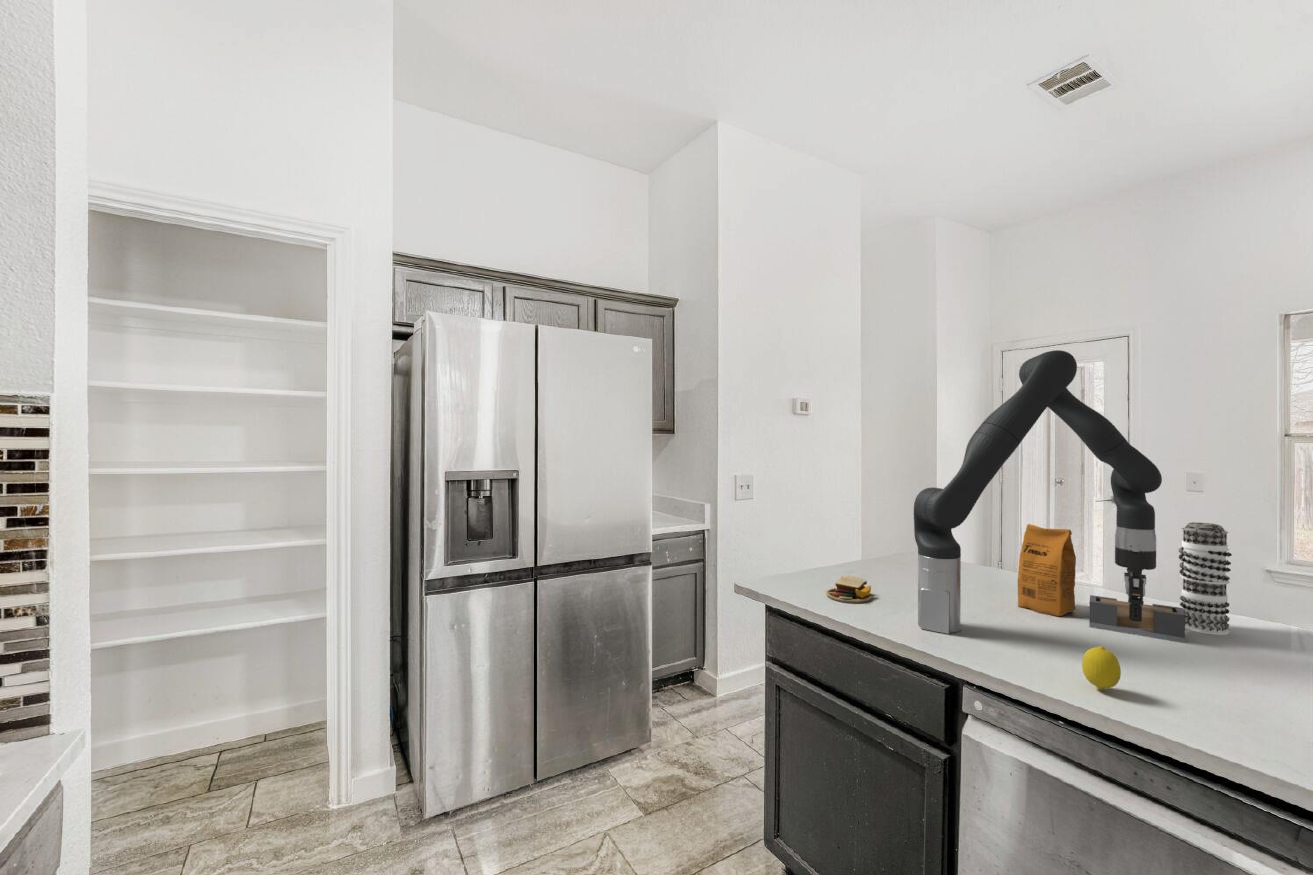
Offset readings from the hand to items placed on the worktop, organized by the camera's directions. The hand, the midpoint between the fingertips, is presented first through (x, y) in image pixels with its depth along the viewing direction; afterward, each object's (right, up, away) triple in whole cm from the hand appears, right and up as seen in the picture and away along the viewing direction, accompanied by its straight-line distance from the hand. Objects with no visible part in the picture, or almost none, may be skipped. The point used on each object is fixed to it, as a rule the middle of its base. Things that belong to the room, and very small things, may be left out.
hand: (1134, 616), depth 136 cm
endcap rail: (0, -3, 0) cm, 3 cm away
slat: (0, -2, 0) cm, 2 cm away
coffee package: (-11, -3, +16) cm, 19 cm away
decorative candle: (+17, -3, +1) cm, 17 cm away
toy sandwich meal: (-59, -4, +28) cm, 65 cm away
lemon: (-33, -4, -32) cm, 46 cm away
